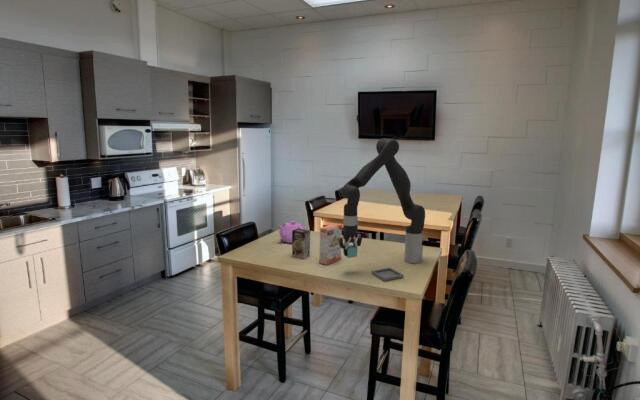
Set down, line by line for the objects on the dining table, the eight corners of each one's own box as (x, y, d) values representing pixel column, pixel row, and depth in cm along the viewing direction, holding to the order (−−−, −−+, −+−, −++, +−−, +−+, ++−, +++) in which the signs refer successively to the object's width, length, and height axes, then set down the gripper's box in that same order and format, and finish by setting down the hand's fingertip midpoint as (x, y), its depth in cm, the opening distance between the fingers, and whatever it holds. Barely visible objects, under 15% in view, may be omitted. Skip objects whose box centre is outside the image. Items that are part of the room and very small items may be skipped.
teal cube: (352, 253, 208) (352, 244, 207) (356, 256, 203) (357, 247, 202) (343, 255, 206) (343, 246, 205) (348, 258, 201) (348, 248, 200)
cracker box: (327, 265, 216) (327, 229, 212) (319, 263, 220) (319, 227, 216) (341, 259, 227) (342, 224, 223) (333, 257, 230) (333, 222, 227)
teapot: (268, 241, 263) (267, 221, 260) (293, 235, 277) (292, 216, 275) (288, 248, 247) (287, 227, 245) (313, 241, 262) (313, 221, 259)
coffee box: (291, 256, 231) (291, 230, 228) (298, 253, 236) (297, 228, 233) (304, 259, 226) (304, 232, 223) (310, 256, 232) (310, 230, 229)
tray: (389, 270, 209) (389, 267, 208) (403, 278, 198) (403, 274, 198) (371, 274, 204) (371, 270, 203) (384, 281, 193) (384, 278, 193)
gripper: (358, 220, 208) (358, 250, 211) (334, 223, 201) (335, 254, 205) (366, 223, 201) (365, 254, 204) (341, 226, 195) (341, 259, 198)
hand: (350, 254), depth 204 cm, fingers closed on teal cube, 5 cm apart
